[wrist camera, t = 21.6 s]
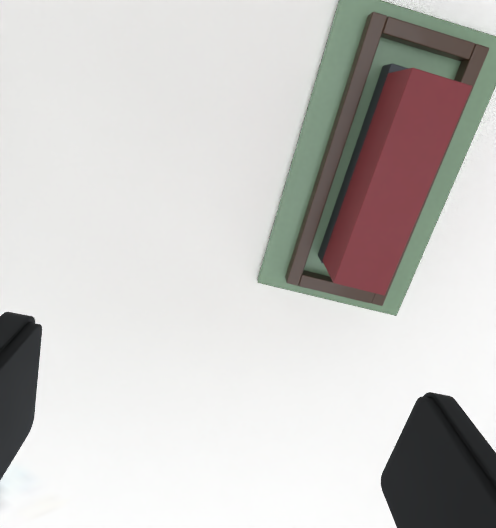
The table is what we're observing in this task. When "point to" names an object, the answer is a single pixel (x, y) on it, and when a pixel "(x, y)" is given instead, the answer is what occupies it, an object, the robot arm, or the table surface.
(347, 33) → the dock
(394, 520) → the robot arm
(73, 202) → the table surface
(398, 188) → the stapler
